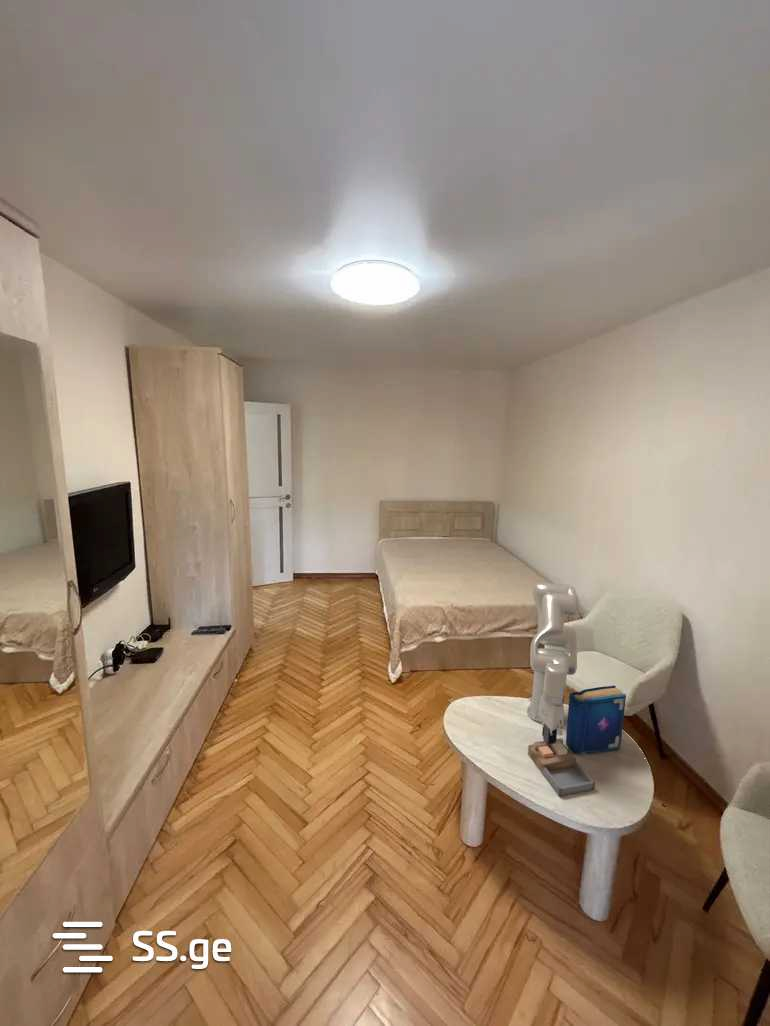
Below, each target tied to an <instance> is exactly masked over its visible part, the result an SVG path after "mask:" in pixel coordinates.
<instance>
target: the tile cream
mask: <svg viewBox="0 0 770 1026" xmlns="http://www.w3.org/2000/svg"><path fill="white" fill-rule="evenodd" d="M551 748H552V749H553V750H554V752H555V753H556V754H557V755H563V754H567V749H566V748H565V747H564V746H563V745H562V744H561V743H557V744H552V747H551Z"/></svg>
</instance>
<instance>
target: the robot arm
mask: <svg viewBox="0 0 770 1026" xmlns="http://www.w3.org/2000/svg"><path fill="white" fill-rule="evenodd" d="M532 594H533V601H534V604H535V607H536V610H537V632H536V634H535V635H534V636H533V638H532V641H531V642H530V650H529V651H530V652H529V653H530V654H529V657H530V658H529V661H530V662H529V664H530V668H531V670H532V671H533V682H532V694H531V696H530V697H528V700H529V702H530V704H529V706H527V709H526V714H527V716H529V718H530V719H532V720H533V721H534V722H537V723H539V724H542V733H541V735H542V737H543V734H544V725H545V724H546V725H547V727H548V728H549V729H550V733H549V736H548V743H549V744H550V743H556V739H558V738H557V737H558V736H563V729H564V722H565V706H564V701H565V692H566V683H567V677H568V675H569V676H572V675H575V674H576V672H577V669H578V645H577V643H578V640H577V639H578V638H577V633H576V630H575V629H574V628H573V627H571V626H568V625H565V623H564V622H565V619H564V617H565V616H574V617H575V616H577V615H578V614H579V611H580V601H579V597H578V595H577V592H576V589H575V588H574V586H572V585H569V584H559V583H548V582H538V583H536V584H535V585H534V586H533V591H532ZM539 644H541V645H544V646H549V647H555V648H561V649H563V650H561V649H560V650H559V649H554V648H546V647H545V648H544V647H540V648H539ZM553 730H555V731H553Z"/></svg>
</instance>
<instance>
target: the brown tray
mask: <svg viewBox="0 0 770 1026" xmlns="http://www.w3.org/2000/svg"><path fill="white" fill-rule="evenodd" d="M563 746H564V747H565V748H566V749H567V754H563V755H557V754H556V753H555V752H554V750H553V749H552V748H551V747H549V748H550V749H551V750H552V752H553V756H551V757H545V758H543V756H542V755H541V754H540V753H539V751H538V749H537V750H535V749H534V748H533V747H534V743H533V744H528V746H527V747H528V748H527V755H528V757H529V758H530V760H531V761H532V762H533V764H534V765H535V766H536V767H537V769H538V770H539V772H540V773H541V774H542V775H543V767H546V769H547V770H548V771H549V772H551V771H557V770H562V769H568V768H573V767H574V763H575V761H577V759H578V758H576V756H575V754H574V753H572V752H571V751H570V750H569V749H568V747H567V745H566V744H564V743H563Z"/></svg>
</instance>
